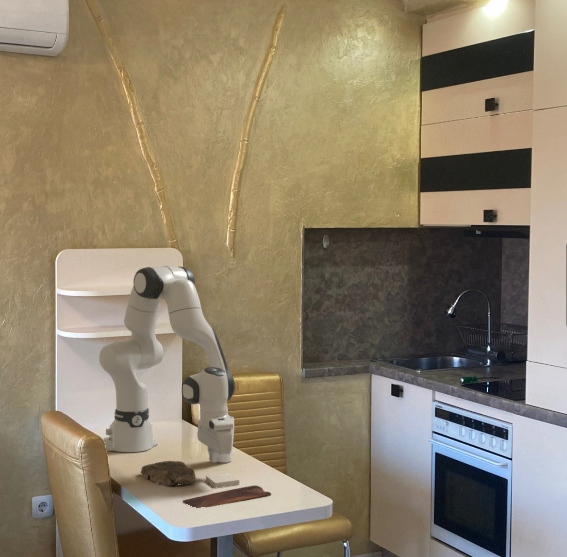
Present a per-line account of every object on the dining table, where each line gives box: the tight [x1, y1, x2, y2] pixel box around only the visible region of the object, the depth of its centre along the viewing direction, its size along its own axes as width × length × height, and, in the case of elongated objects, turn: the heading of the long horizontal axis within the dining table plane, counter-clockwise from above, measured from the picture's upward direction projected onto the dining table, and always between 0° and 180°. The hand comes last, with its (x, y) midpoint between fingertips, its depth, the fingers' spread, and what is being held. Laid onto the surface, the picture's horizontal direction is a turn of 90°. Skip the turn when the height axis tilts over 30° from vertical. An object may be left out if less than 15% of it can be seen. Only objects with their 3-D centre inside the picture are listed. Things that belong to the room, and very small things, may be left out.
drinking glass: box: [217, 415, 235, 464], centre depth 298 cm, size 7×7×15 cm
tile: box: [205, 472, 240, 488], centre depth 274 cm, size 2×8×8 cm
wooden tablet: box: [182, 485, 272, 509], centre depth 260 cm, size 26×2×10 cm
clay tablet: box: [140, 460, 197, 487], centre depth 277 cm, size 14×5×20 cm
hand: (213, 461), depth 280 cm, fingers closed
